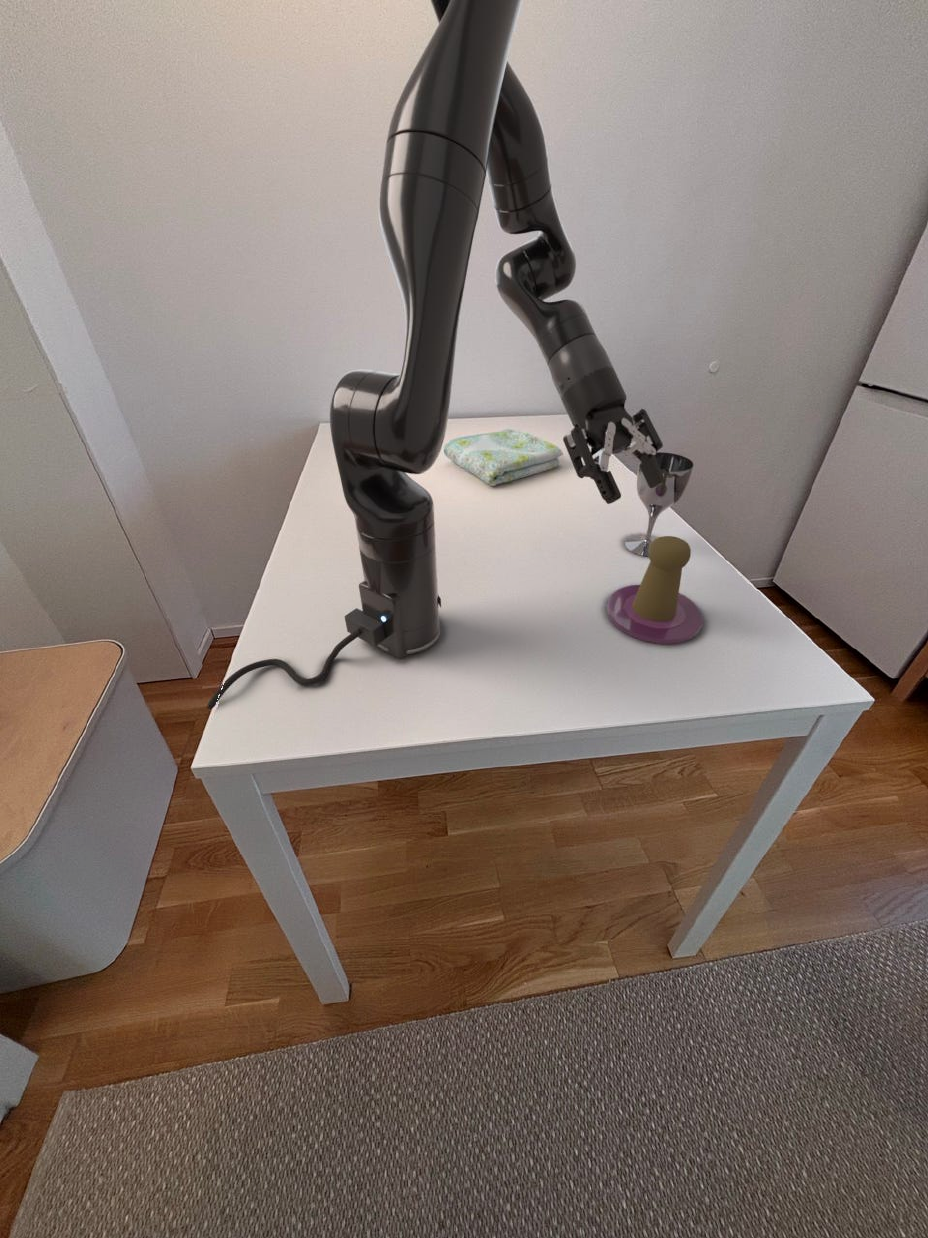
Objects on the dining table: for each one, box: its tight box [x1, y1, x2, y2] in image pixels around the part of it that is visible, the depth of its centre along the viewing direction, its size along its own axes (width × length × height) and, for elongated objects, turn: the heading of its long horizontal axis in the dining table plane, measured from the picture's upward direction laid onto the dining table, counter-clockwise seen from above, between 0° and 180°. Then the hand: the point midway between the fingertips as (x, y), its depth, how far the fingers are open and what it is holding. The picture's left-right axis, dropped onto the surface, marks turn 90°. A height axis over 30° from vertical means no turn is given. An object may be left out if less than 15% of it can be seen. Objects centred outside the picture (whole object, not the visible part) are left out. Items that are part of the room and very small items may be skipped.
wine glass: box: [624, 451, 694, 558], centre depth 85 cm, size 8×8×15 cm
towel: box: [443, 428, 564, 487], centre depth 116 cm, size 18×21×5 cm
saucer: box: [606, 584, 704, 645], centre depth 74 cm, size 13×13×1 cm
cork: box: [632, 535, 692, 622], centre depth 70 cm, size 6×6×11 cm
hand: (636, 492), depth 69 cm, fingers open, 8 cm apart
